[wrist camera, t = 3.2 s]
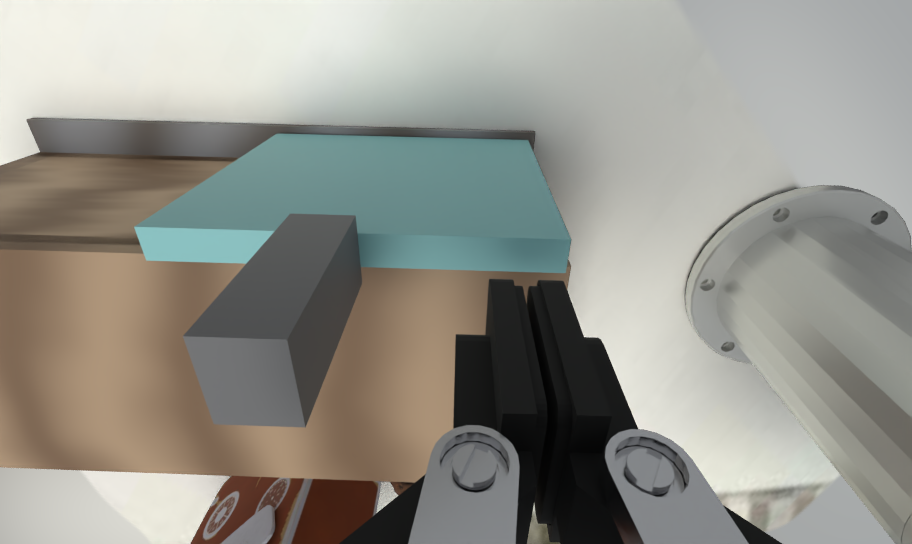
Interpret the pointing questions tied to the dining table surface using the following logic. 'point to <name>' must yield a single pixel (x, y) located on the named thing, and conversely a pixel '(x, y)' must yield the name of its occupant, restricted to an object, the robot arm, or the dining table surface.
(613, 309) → the dining table surface
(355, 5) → the dining table surface
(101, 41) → the dining table surface
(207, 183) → the door
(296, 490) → the cine camera
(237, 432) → the cabinet
